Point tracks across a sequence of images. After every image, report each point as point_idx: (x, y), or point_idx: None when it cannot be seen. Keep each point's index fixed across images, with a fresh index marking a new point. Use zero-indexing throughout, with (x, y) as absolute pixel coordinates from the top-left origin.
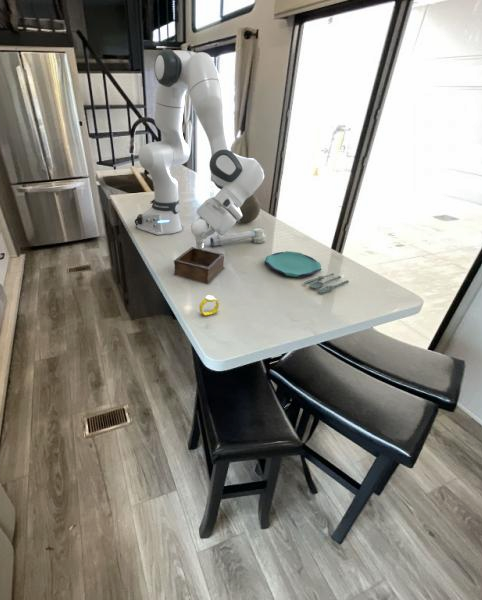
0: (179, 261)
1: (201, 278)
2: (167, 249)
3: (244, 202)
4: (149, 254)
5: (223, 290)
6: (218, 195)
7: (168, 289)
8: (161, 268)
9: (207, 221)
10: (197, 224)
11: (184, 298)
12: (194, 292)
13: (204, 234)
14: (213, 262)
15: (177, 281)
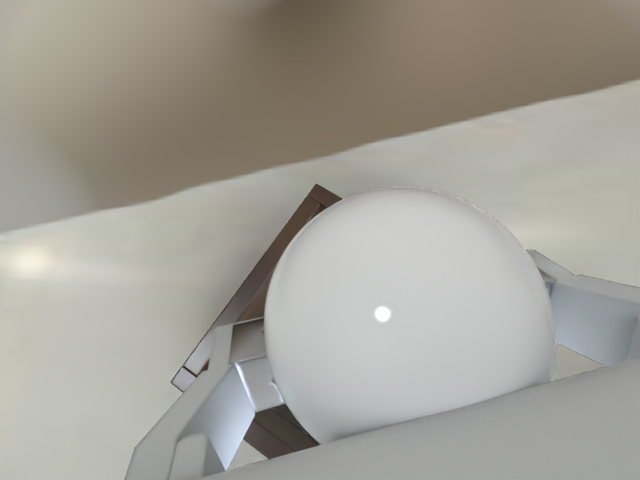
0: (300, 212)
1: None
2: (605, 195)
3: None
4: (529, 116)
5: (124, 458)
6: None
7: (191, 192)
8: (384, 166)
9: (337, 456)
10: (314, 243)
11: (103, 252)
12: (141, 300)
13: (213, 361)
14: (263, 435)
15: (253, 230)
